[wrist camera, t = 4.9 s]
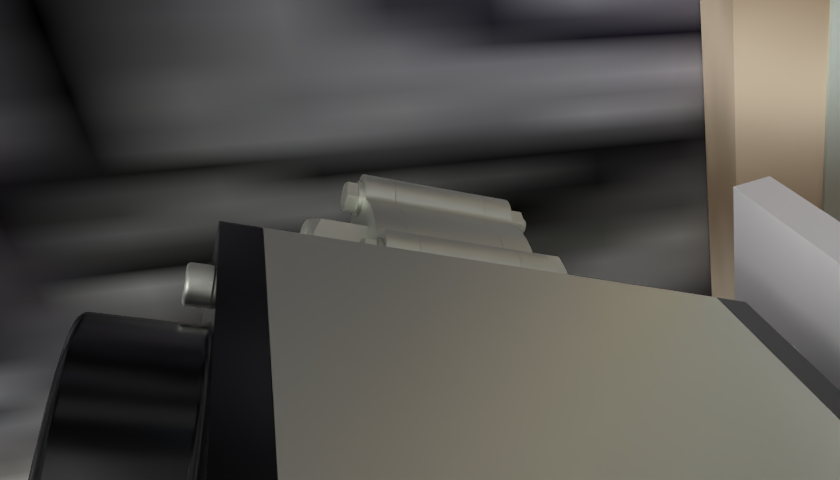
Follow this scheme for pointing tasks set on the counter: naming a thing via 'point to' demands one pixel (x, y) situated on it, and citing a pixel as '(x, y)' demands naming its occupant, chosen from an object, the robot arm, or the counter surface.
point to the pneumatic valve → (430, 365)
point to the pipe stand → (768, 109)
